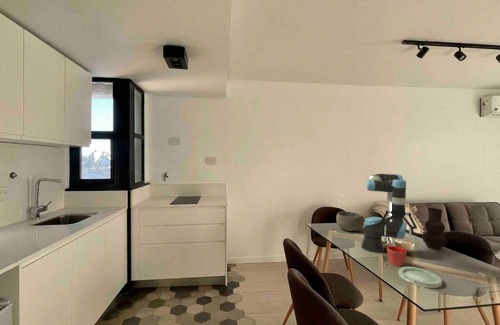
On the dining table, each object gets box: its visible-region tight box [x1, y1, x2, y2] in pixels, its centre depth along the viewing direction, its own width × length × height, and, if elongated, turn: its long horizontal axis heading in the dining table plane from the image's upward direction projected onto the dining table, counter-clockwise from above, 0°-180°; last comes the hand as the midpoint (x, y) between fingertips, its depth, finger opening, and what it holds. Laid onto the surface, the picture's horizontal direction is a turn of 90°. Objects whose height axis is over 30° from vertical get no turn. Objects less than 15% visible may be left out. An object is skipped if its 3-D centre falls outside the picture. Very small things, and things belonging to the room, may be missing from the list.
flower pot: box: [386, 245, 407, 267], centre depth 155 cm, size 11×11×10 cm
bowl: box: [335, 211, 365, 232], centre depth 227 cm, size 24×24×15 cm
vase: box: [421, 207, 448, 251], centre depth 184 cm, size 15×15×30 cm
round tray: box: [398, 266, 443, 289], centre depth 136 cm, size 20×20×2 cm
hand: (397, 237), depth 154 cm, fingers open, 13 cm apart
